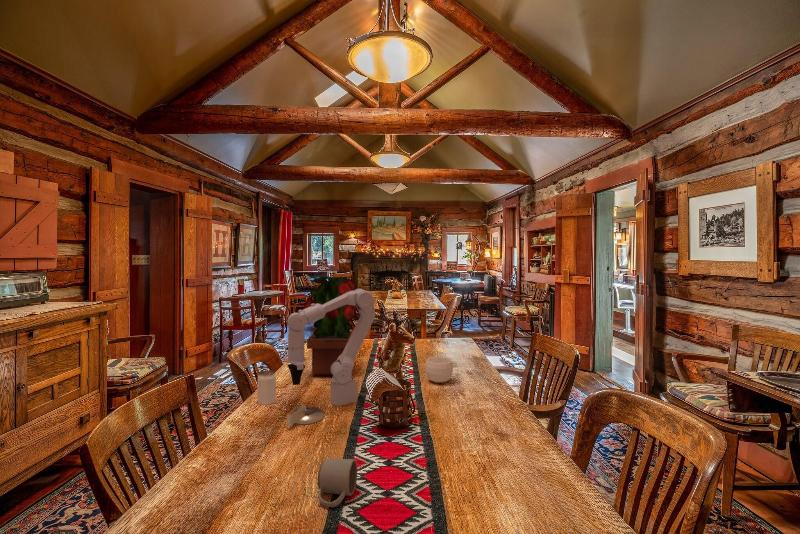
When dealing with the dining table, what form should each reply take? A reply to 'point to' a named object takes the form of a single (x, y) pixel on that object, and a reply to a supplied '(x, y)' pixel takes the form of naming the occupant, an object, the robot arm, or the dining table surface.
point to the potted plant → (330, 323)
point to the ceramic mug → (337, 479)
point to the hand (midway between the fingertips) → (296, 384)
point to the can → (266, 387)
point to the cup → (439, 369)
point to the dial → (304, 415)
